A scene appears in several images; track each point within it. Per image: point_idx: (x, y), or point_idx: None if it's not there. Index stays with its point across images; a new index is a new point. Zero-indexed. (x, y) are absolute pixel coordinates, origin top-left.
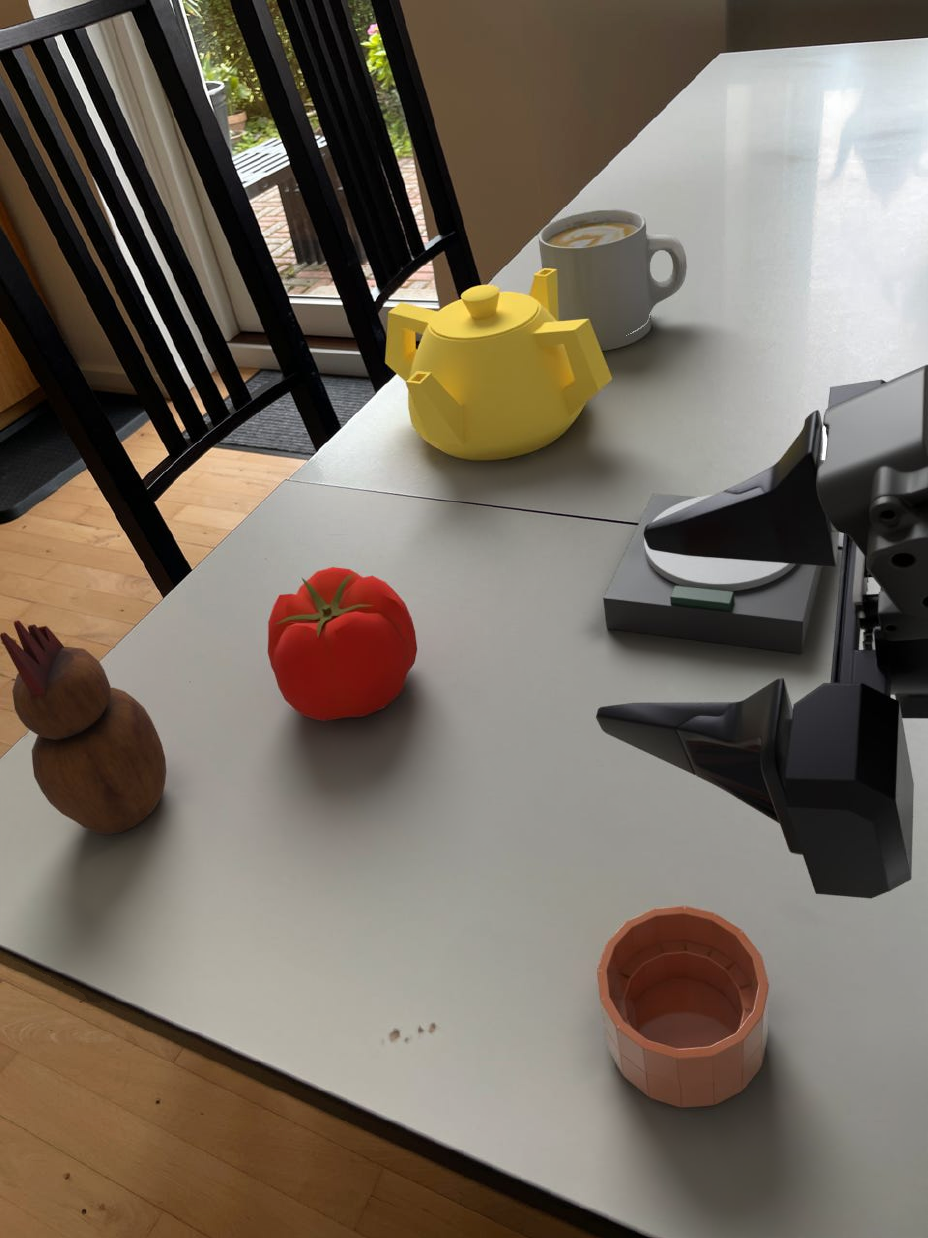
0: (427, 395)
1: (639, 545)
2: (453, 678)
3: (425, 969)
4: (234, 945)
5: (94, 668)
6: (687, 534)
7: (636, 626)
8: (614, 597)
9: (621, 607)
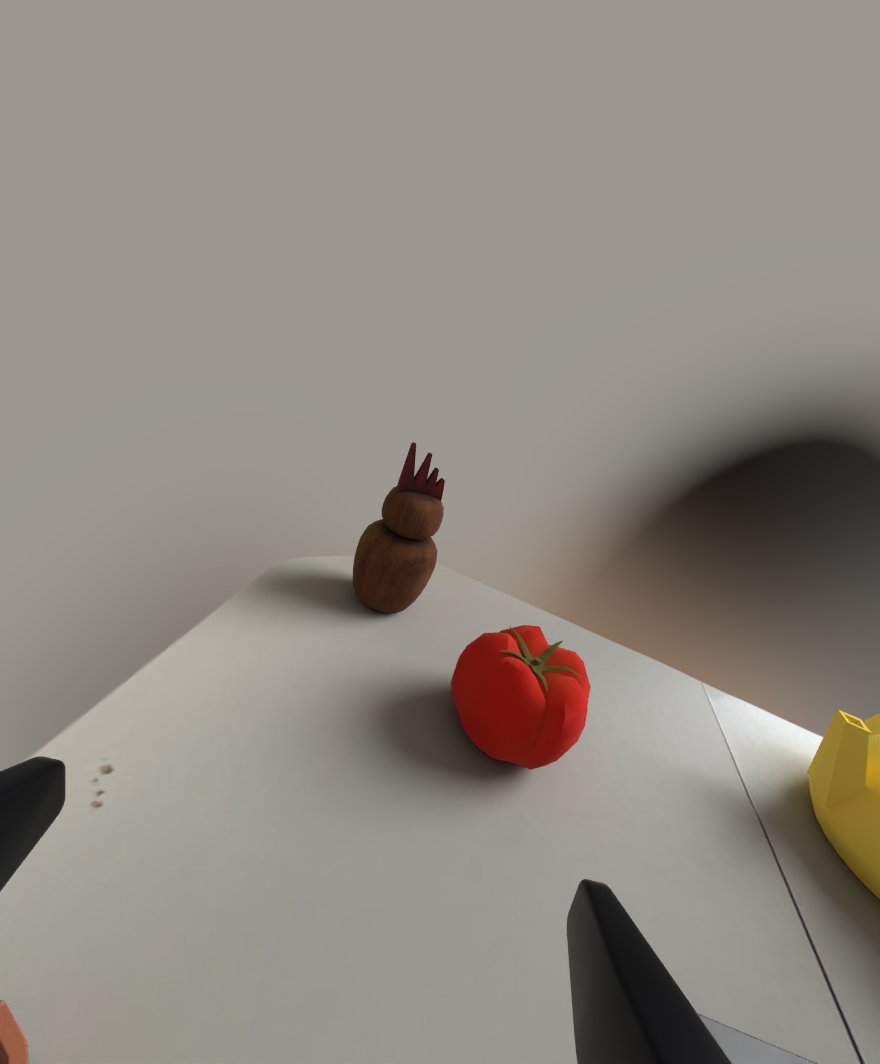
0: (842, 737)
1: None
2: (528, 816)
3: (170, 796)
4: (248, 655)
5: (426, 515)
6: (608, 1024)
7: None
8: None
9: None
